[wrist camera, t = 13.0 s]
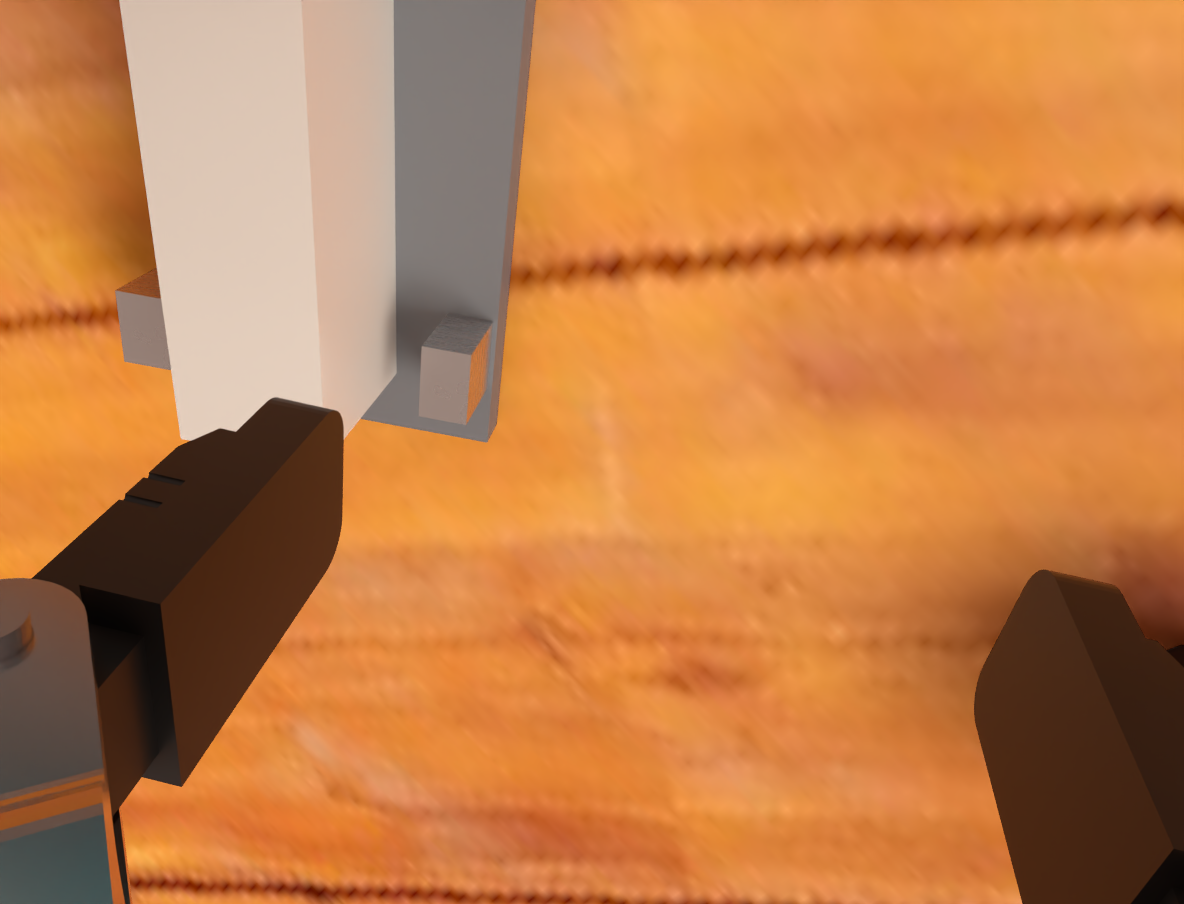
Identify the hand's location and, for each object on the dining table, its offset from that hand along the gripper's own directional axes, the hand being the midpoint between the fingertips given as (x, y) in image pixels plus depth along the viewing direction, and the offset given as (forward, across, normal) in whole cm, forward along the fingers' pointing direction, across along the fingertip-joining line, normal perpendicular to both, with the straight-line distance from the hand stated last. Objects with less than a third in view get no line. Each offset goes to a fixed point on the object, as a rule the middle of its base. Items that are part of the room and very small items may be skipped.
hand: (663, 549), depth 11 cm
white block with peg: (+20, +12, +2) cm, 23 cm away
